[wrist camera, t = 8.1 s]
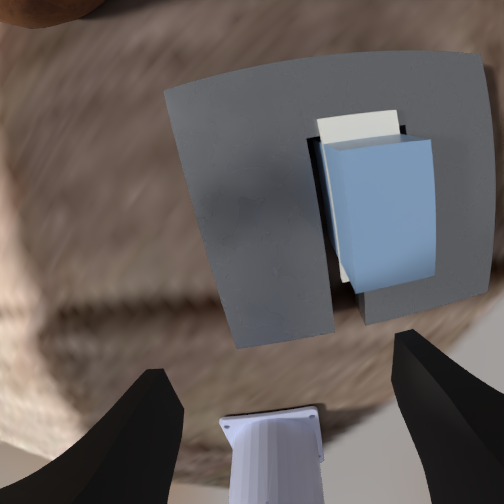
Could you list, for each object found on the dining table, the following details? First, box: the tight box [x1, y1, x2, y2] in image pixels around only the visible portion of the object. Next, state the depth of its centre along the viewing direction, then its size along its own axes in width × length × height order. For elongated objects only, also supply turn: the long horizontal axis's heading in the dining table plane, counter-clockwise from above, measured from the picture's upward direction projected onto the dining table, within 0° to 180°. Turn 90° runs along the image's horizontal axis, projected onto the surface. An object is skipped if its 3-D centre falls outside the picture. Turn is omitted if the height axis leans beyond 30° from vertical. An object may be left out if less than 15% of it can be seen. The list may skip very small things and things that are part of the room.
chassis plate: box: [163, 51, 496, 349], centre depth 15 cm, size 14×16×2 cm
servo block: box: [313, 110, 436, 294], centre depth 14 cm, size 8×4×6 cm, turn 13°
